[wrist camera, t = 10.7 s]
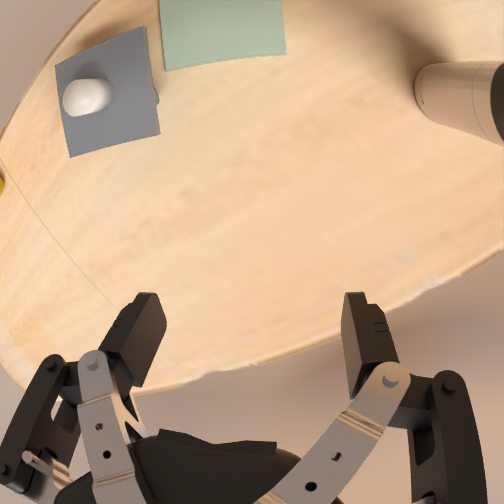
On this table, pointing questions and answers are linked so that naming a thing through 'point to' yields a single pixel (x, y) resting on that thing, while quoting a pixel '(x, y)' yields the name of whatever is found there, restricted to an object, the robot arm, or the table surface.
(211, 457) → the robot arm
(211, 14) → the mat
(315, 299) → the table surface
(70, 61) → the lid
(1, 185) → the lemon
